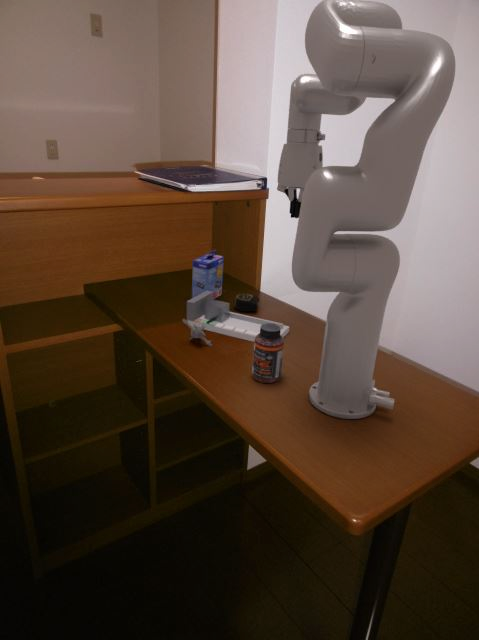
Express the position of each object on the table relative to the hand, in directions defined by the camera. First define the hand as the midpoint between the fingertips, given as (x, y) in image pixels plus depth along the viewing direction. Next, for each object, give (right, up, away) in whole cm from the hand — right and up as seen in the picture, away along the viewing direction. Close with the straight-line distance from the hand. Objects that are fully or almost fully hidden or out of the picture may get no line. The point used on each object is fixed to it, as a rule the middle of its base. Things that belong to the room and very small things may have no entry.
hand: (295, 217), depth 114 cm
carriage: (-21, -26, +2) cm, 33 cm away
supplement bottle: (-9, -38, -20) cm, 44 cm away
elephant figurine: (-25, -31, -6) cm, 40 cm away
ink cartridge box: (-24, -19, +22) cm, 38 cm away
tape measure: (-12, -23, +15) cm, 30 cm away
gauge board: (-15, -28, +2) cm, 32 cm away
